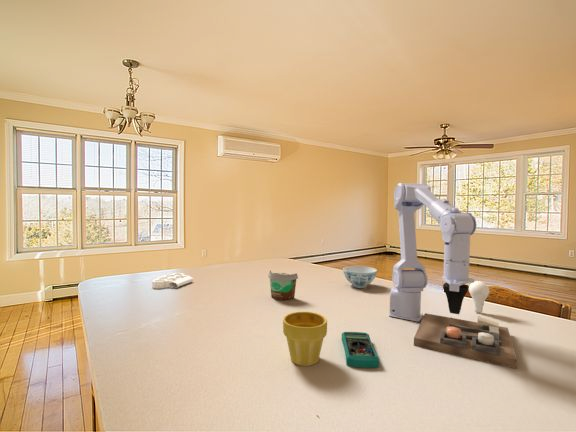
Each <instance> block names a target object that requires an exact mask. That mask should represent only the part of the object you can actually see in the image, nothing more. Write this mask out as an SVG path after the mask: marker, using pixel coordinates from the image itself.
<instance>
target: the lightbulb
mask: <svg viewBox="0 0 576 432" xmlns="http://www.w3.org/2000/svg"><path fill="white" fill-rule="evenodd" d="M468 292H469V294H470V296H471V298H472V305H473V311H474V312H475V313H477V314H480V313H482V312H483V309H484V306H485V301H486V299H487V298H488V297H489V295H490V287H489V286H488V285H487V284H486V283H485V282H484V281H480V280H476V281H475V280H474V283H469V285H468Z"/></svg>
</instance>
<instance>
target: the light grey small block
mask: <svg viewBox="0 0 576 432" xmlns="http://www.w3.org/2000/svg"><path fill="white" fill-rule="evenodd" d="M489 334H491V335H493V336H494V340H499V330H498V328H497V327H492V326H489Z"/></svg>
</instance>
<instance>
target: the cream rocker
mask: <svg viewBox="0 0 576 432" xmlns="http://www.w3.org/2000/svg"><path fill="white" fill-rule="evenodd" d="M476 322H477V325H480V326H483V325H486V326H492V327H497V328H498V330H499V326H500V323H499V322H498V321H495V320H492V319H490V318H486V317H482V316H479V315H478V316H477V320H476Z"/></svg>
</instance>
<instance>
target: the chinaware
mask: <svg viewBox="0 0 576 432" xmlns="http://www.w3.org/2000/svg"><path fill="white" fill-rule="evenodd" d="M342 271H343V275H344V277H345V279H346V280H347V281H348V282H349V283H350V284H351V286H352V287H353V288H357V289H362V288H363V289H365V288H367V287H368V285H370V284H371V283H372V282H373V281H374V279H375V278H376V275H377V272H378V270H377V268H374V267H369V266H363V265H350V266H345V267H343V268H342Z"/></svg>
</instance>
